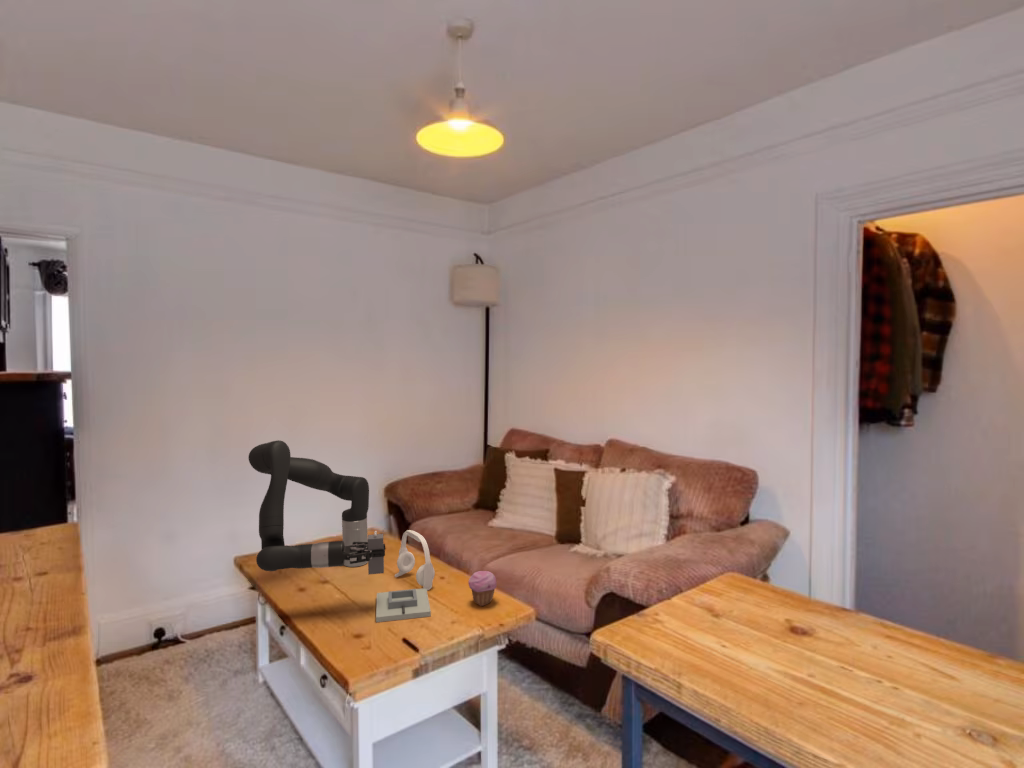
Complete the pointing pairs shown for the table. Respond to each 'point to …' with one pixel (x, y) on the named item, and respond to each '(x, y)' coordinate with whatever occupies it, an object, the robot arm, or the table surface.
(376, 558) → the charger block
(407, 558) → the headset
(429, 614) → the charging dock
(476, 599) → the cupcake
